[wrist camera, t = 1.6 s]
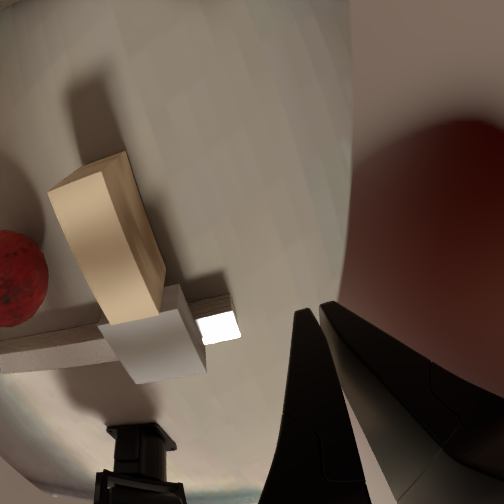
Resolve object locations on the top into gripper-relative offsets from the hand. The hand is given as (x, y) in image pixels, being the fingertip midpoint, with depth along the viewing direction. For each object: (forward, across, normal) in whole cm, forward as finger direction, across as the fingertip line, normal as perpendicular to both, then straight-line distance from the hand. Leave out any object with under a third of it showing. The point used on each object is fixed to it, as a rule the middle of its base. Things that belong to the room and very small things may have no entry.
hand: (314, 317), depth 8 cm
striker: (+12, +8, +3) cm, 14 cm away
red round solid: (+12, +16, 0) cm, 20 cm away
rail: (+12, +18, +8) cm, 24 cm away
